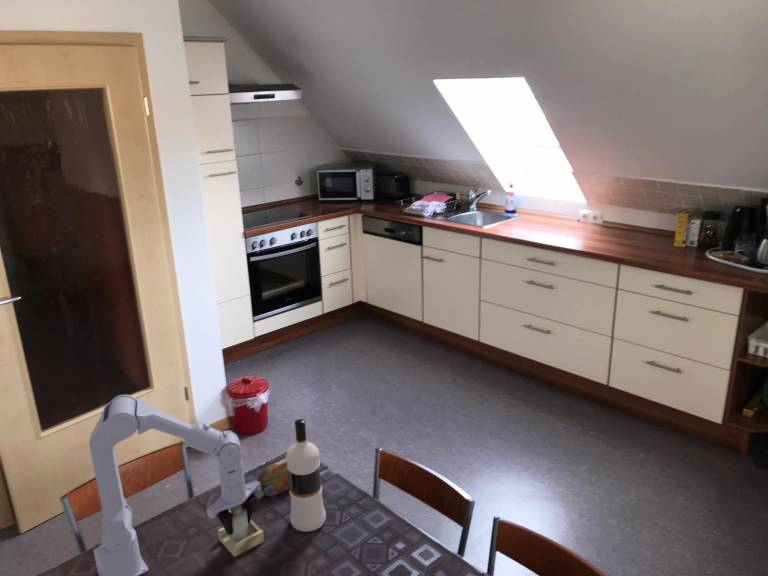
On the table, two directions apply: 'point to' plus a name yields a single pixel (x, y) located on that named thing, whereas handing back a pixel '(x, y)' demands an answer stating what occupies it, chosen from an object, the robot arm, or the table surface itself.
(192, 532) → the table surface
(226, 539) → the wooden box
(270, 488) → the tin
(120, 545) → the robot arm
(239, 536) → the bottle
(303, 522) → the vodka
